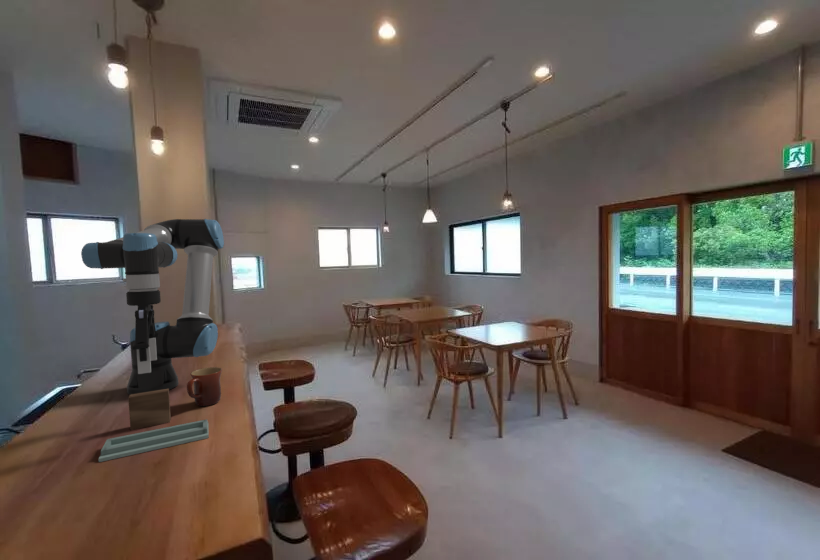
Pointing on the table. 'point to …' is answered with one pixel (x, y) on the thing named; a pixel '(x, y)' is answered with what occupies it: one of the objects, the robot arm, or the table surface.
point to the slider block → (149, 409)
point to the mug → (205, 386)
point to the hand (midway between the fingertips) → (148, 366)
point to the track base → (154, 440)
